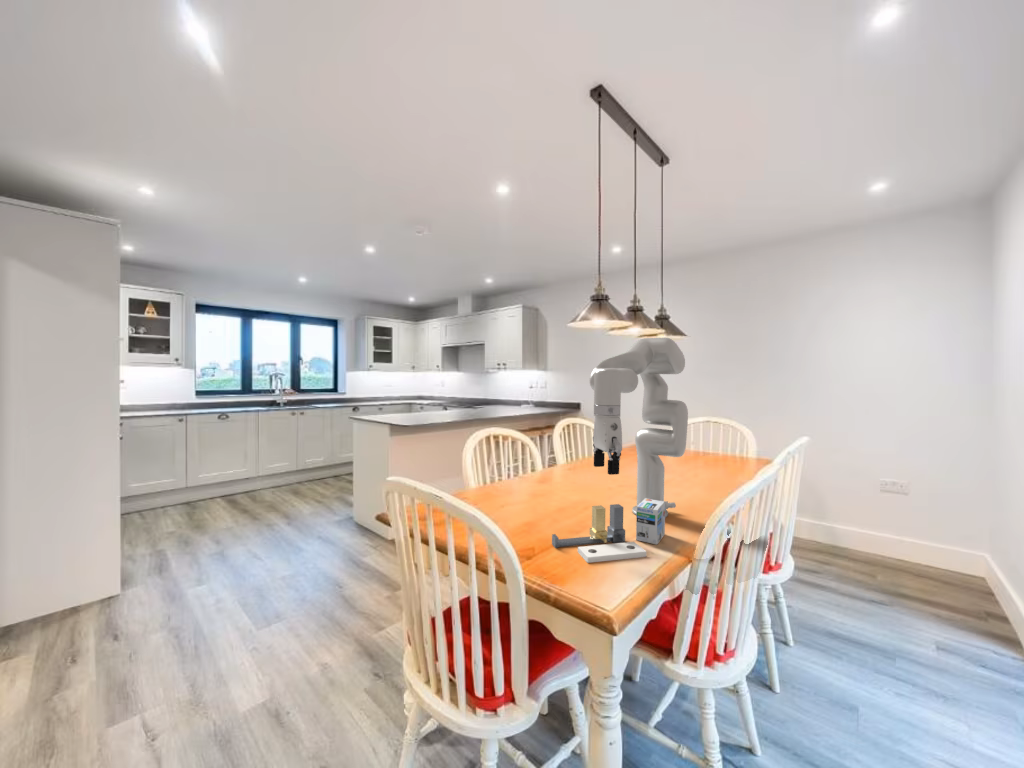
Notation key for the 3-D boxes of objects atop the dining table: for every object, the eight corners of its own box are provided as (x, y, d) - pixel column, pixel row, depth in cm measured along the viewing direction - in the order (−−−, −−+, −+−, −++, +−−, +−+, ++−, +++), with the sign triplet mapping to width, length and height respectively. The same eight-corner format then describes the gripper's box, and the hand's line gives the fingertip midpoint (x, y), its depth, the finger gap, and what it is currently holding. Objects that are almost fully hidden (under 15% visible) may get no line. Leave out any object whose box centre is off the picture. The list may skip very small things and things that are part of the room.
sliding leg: (601, 533, 133) (601, 504, 133) (611, 542, 126) (612, 512, 126) (589, 534, 132) (590, 505, 132) (599, 543, 125) (599, 513, 125)
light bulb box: (657, 545, 129) (658, 510, 128) (635, 540, 132) (635, 506, 132) (665, 534, 138) (666, 501, 137) (644, 529, 141) (644, 497, 141)
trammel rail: (618, 537, 135) (619, 503, 134) (629, 546, 128) (630, 510, 127) (551, 543, 129) (551, 508, 129) (559, 553, 122) (559, 516, 122)
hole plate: (633, 546, 127) (633, 541, 127) (646, 556, 121) (646, 551, 121) (577, 552, 123) (577, 546, 123) (587, 562, 116) (587, 557, 116)
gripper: (633, 414, 115) (632, 477, 115) (606, 408, 132) (605, 463, 132) (607, 414, 113) (606, 478, 114) (583, 408, 130) (582, 464, 130)
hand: (605, 470), depth 123 cm, fingers open, 9 cm apart
